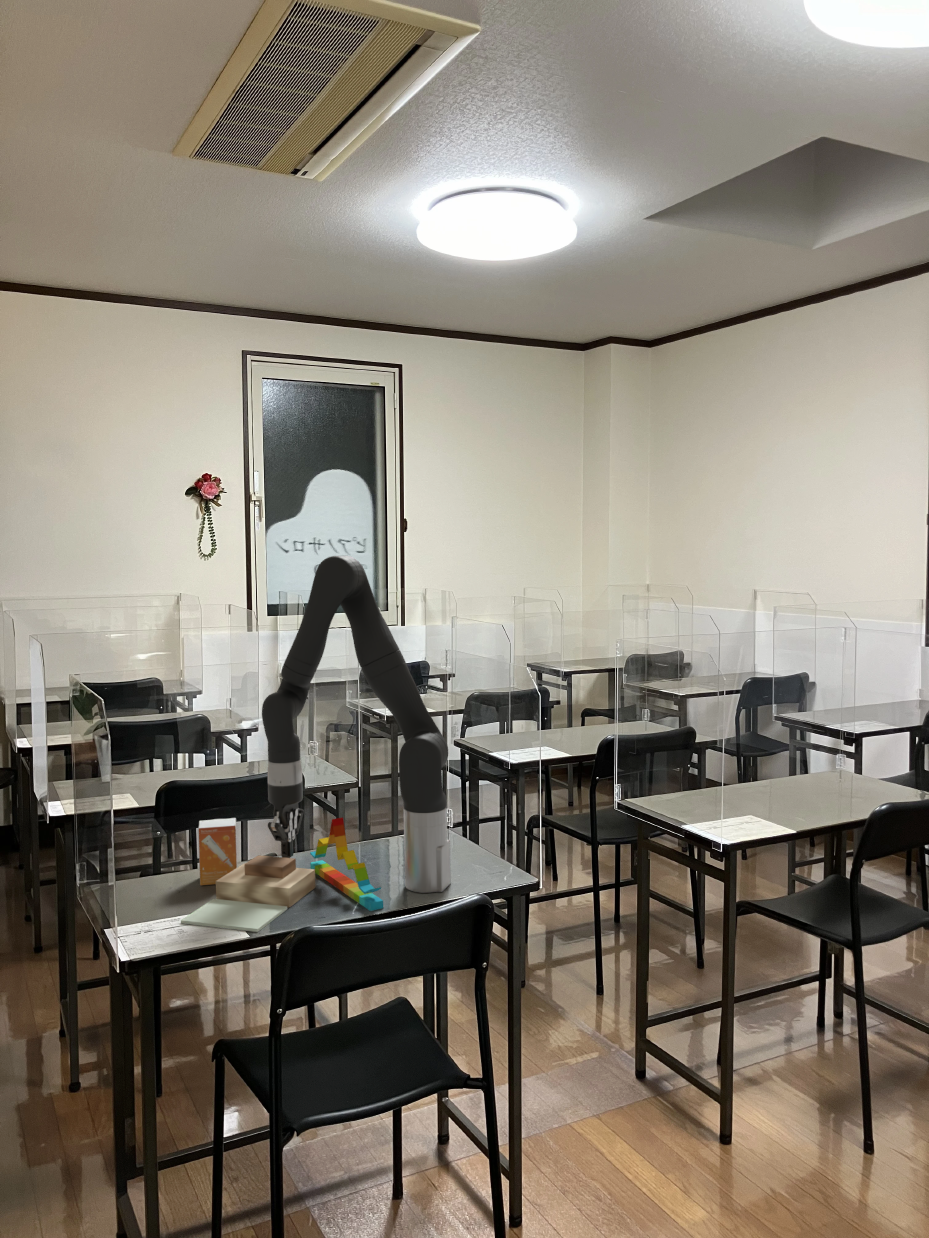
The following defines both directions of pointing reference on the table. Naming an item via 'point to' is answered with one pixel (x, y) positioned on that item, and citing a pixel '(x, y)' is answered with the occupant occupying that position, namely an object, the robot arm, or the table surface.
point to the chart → (339, 880)
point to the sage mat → (234, 915)
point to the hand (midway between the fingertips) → (287, 856)
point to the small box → (217, 849)
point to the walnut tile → (270, 866)
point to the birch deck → (265, 887)
